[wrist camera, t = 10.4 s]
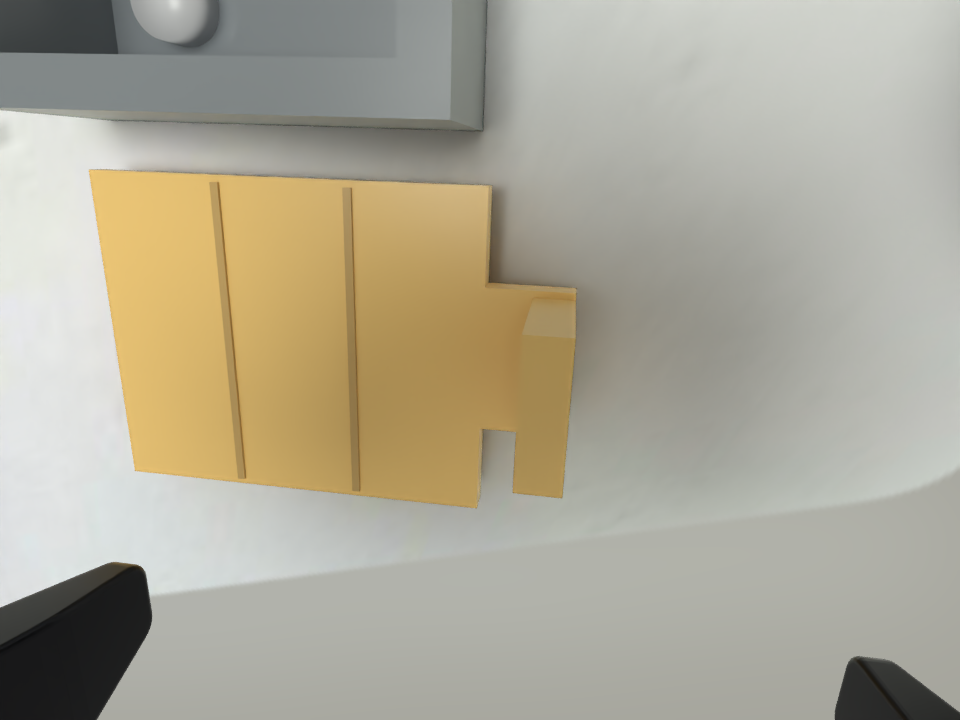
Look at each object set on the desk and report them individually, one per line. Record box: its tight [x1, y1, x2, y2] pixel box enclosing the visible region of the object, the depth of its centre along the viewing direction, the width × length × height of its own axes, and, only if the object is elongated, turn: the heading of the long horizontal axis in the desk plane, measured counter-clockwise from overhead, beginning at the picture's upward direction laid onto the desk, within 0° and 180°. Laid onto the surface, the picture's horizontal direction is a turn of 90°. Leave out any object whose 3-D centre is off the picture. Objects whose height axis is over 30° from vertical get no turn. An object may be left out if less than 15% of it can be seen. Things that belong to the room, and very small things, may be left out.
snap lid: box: [89, 169, 576, 508], centre depth 18 cm, size 15×10×6 cm
